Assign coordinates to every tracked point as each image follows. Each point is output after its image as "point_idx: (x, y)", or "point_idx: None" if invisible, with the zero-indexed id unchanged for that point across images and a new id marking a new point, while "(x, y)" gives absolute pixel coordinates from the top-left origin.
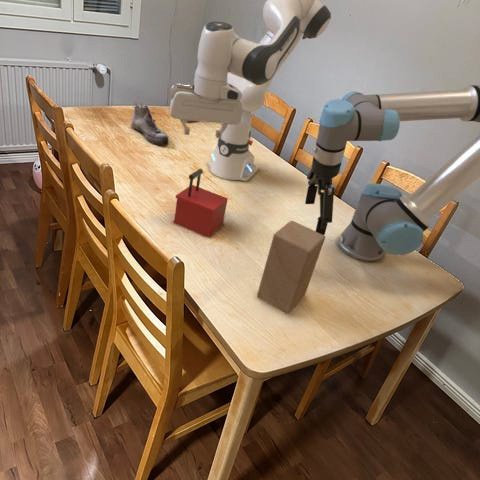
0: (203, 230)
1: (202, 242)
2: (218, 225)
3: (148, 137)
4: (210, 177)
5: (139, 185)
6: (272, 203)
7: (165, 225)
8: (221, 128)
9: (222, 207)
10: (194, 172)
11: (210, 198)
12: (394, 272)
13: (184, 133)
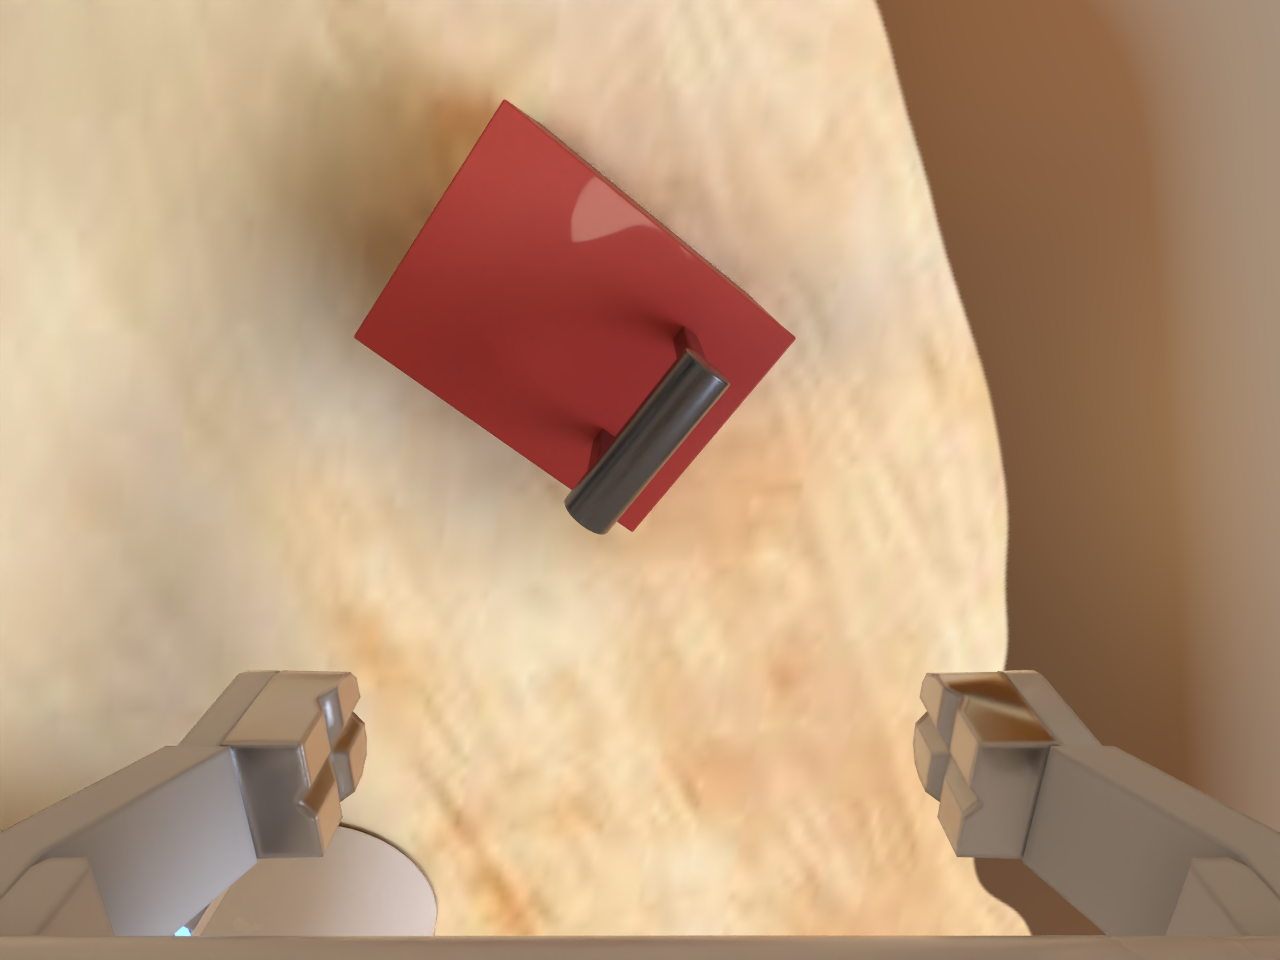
0: (575, 153)
1: (592, 55)
2: None
3: None
4: (444, 836)
5: (882, 703)
6: (59, 591)
7: (808, 262)
8: (164, 874)
9: None
10: (668, 436)
11: (507, 317)
12: None
13: (1042, 676)
